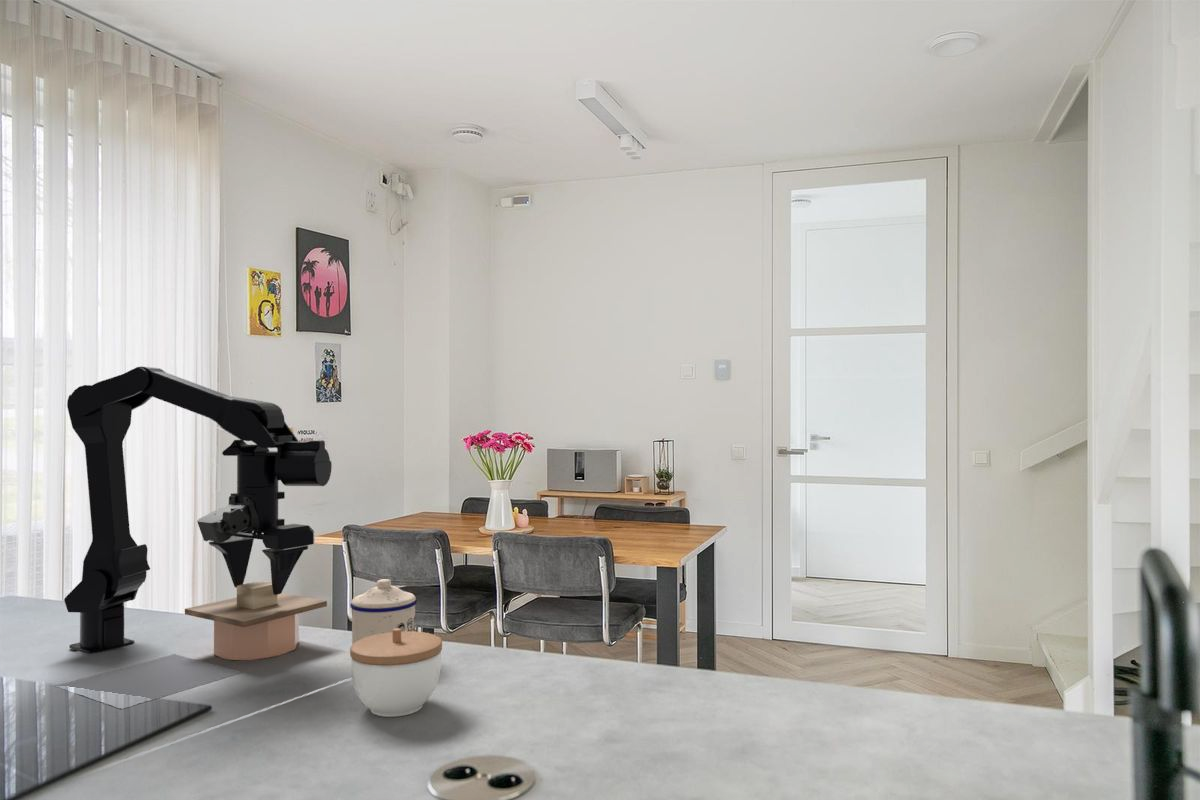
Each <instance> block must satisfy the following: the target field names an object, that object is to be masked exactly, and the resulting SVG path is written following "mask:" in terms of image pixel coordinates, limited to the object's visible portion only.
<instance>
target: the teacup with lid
mask: <svg viewBox="0 0 1200 800" xmlns="http://www.w3.org/2000/svg"><path fill="white" fill-rule="evenodd" d="M417 602H418V600H417V598H416V596H415V595H414V593H411V592H409V591H405V590H402V589H401V588H399V587H397V586H394V585H392V581H391V579H388V578H383V579H381V578H380V579H378V580H377V581H376V586H374V587H372V588H369V589H368V590H366V592H364V593H362V594H359V595H356V596H354V597H353V598H352V600H351V603H350V605H349V606H350V608H351V638H352V639H351V645H352V644H353V643H354V642H356V641H358V640H360V639H362V638H365V637H368V636H372V635H376V634H382V633H388V632H392V630H393V629H396V628H400V629H401V631H415V632H416V604H417Z"/></svg>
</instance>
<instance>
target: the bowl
mask: <svg viewBox="0 0 1200 800" xmlns="http://www.w3.org/2000/svg"><path fill="white" fill-rule="evenodd" d="M299 617H300V613H299V614H295V615H291V616H287V617H283V618H279V619H275V620H271V621H267V622H263V623H259V624H255V625H251V626H247V627H240V626H236V625H231V624H227V623H222V622H218V621H213V655H214V656H217V657H219V658H221V659H224V660H229V661H253V660H255V661H256V660H260V659H262V660H263V659H269V658H274V657H277V656H282V655H284V654H287V653H289V652H291V651H295V649H296V648H297V646H298V643H299V641H300V640H299V639H300V637H299V636H300V632H299V631H300V628H299V627H300V623H299V622H300V620H299V619H300V618H299Z"/></svg>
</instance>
